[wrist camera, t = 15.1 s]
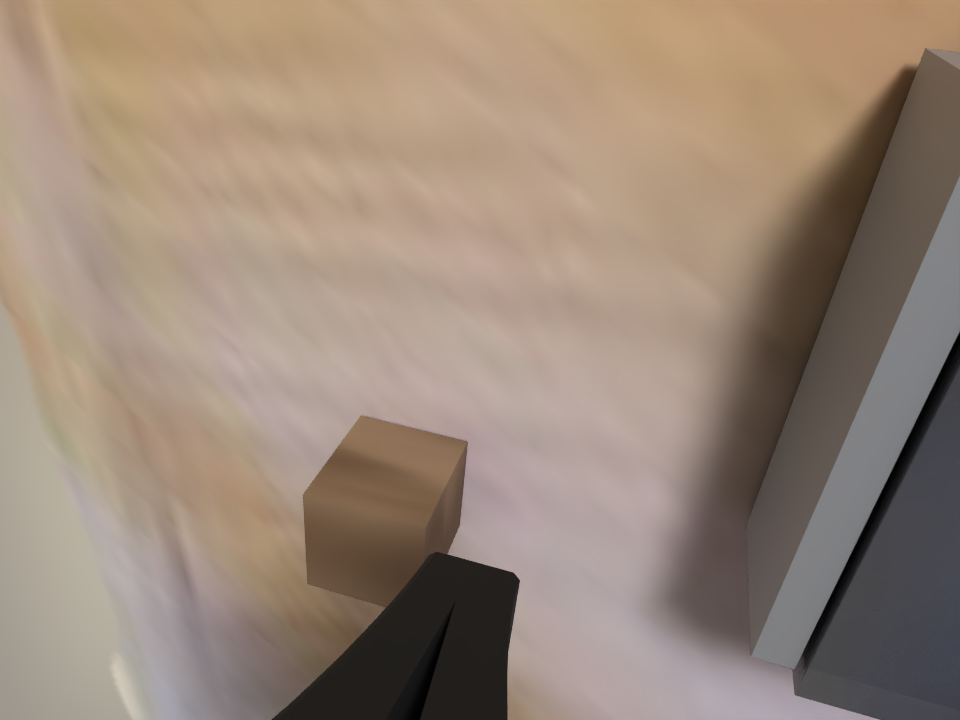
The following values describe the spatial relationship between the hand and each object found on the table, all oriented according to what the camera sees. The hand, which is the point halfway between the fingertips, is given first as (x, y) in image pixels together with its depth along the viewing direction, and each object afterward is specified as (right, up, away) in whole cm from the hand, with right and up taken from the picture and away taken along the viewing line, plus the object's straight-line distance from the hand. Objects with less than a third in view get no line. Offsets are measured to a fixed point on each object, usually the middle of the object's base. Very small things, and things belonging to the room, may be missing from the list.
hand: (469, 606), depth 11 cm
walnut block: (-2, 0, +13) cm, 13 cm away
